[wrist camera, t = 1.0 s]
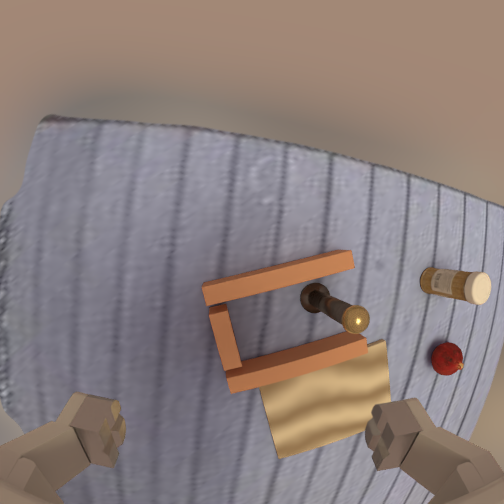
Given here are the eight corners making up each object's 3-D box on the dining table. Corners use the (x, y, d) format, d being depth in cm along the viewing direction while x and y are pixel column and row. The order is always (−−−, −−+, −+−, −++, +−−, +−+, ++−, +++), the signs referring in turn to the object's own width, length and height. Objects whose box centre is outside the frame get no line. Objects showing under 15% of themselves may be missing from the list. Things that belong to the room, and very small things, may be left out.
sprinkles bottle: (430, 298, 48) (483, 311, 35) (414, 284, 48) (468, 295, 34) (442, 275, 48) (495, 282, 35) (426, 261, 48) (481, 266, 35)
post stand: (331, 307, 46) (382, 335, 30) (303, 315, 46) (345, 349, 30) (325, 279, 46) (377, 295, 30) (297, 287, 46) (338, 308, 30)
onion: (417, 359, 48) (444, 374, 40) (435, 332, 49) (463, 343, 41) (434, 372, 49) (459, 387, 41) (450, 346, 49) (477, 358, 41)
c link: (229, 379, 45) (231, 393, 40) (203, 282, 44) (201, 287, 39) (354, 343, 47) (368, 352, 42) (337, 249, 46) (351, 250, 41)
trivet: (388, 416, 48) (391, 418, 47) (277, 455, 46) (278, 459, 45) (382, 339, 47) (385, 341, 46) (256, 378, 45) (257, 381, 44)
